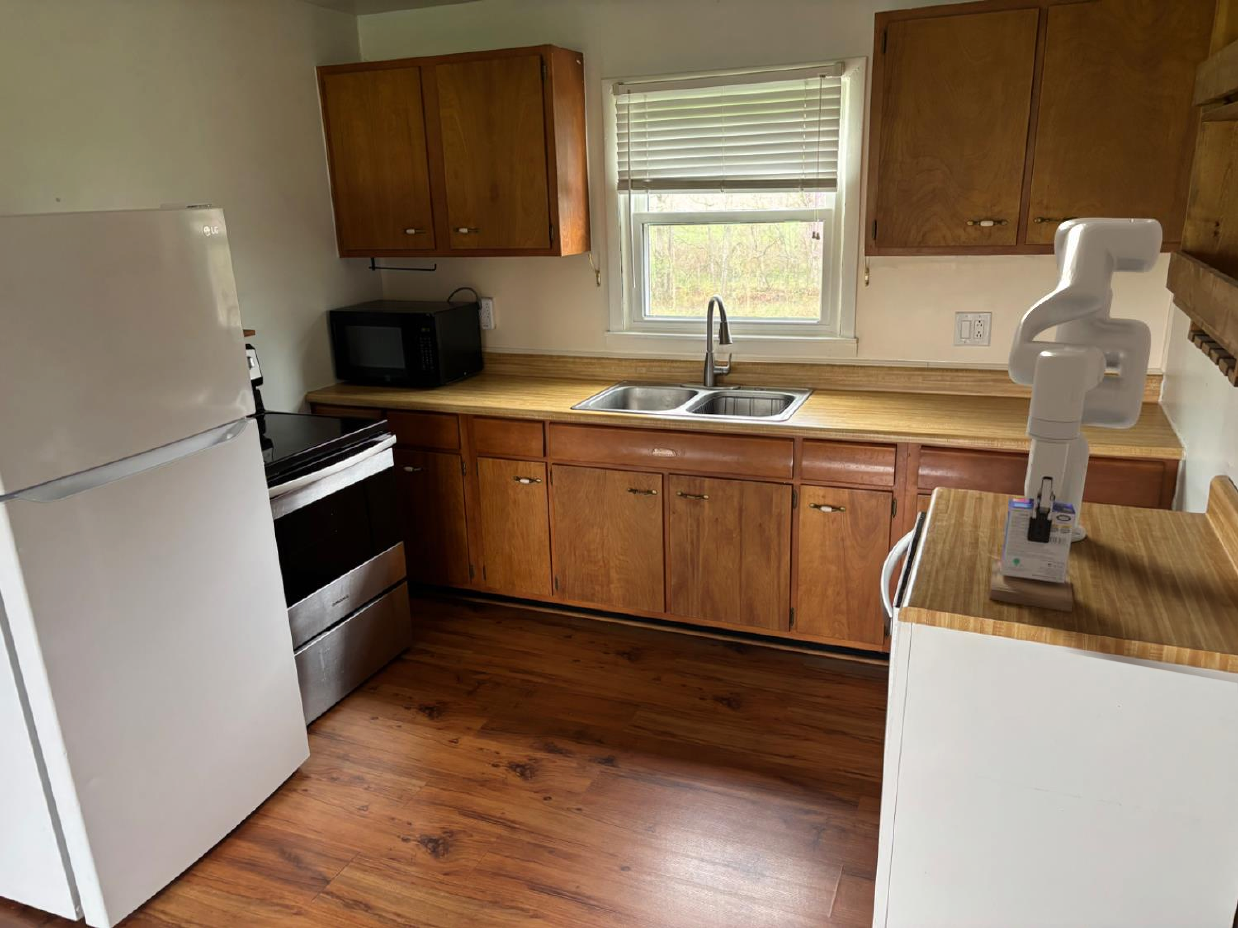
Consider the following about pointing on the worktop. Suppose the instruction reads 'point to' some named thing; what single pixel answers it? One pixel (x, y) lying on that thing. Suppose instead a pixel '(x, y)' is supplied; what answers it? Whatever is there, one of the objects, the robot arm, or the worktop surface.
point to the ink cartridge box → (1037, 543)
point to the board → (1030, 590)
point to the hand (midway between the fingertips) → (1037, 534)
